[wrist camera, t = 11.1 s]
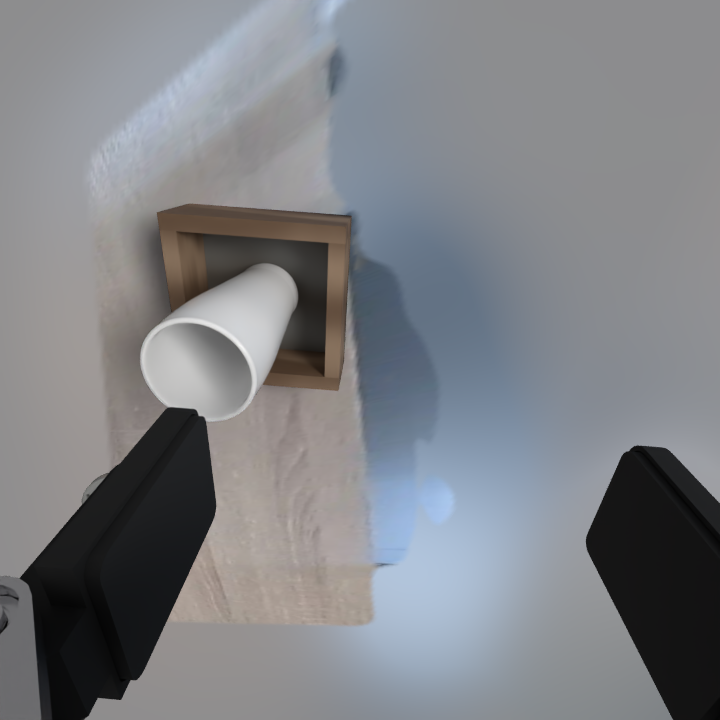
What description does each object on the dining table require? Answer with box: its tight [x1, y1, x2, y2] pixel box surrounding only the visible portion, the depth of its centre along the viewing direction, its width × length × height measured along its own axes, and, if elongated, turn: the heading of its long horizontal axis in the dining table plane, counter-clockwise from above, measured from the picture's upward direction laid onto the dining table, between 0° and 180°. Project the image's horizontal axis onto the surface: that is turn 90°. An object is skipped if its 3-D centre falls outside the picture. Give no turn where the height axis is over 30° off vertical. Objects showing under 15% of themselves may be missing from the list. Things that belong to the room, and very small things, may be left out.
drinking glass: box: [140, 263, 298, 422], centre depth 30 cm, size 7×7×15 cm
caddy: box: [157, 204, 351, 391], centre depth 35 cm, size 13×13×6 cm
